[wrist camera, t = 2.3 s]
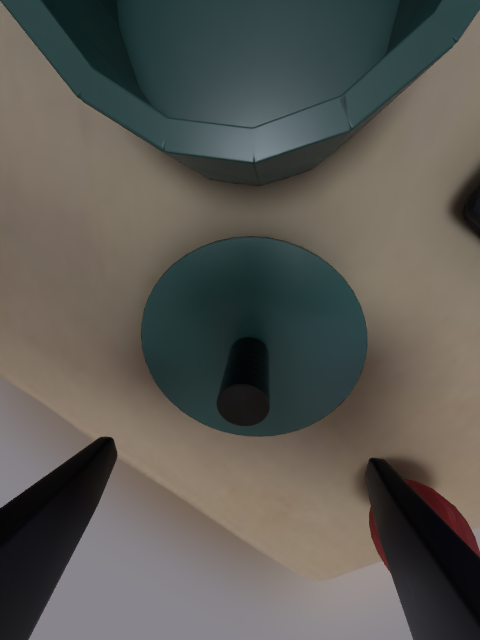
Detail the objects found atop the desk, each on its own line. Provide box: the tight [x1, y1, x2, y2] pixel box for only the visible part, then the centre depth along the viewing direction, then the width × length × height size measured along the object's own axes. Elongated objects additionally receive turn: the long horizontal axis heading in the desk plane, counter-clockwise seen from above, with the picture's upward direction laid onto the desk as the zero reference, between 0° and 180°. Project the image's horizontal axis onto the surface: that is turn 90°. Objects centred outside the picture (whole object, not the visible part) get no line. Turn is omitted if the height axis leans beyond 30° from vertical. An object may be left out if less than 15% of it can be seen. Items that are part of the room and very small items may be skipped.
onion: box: [369, 479, 480, 573], centre depth 16 cm, size 6×6×8 cm
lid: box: [141, 236, 367, 436], centre depth 14 cm, size 14×14×6 cm
